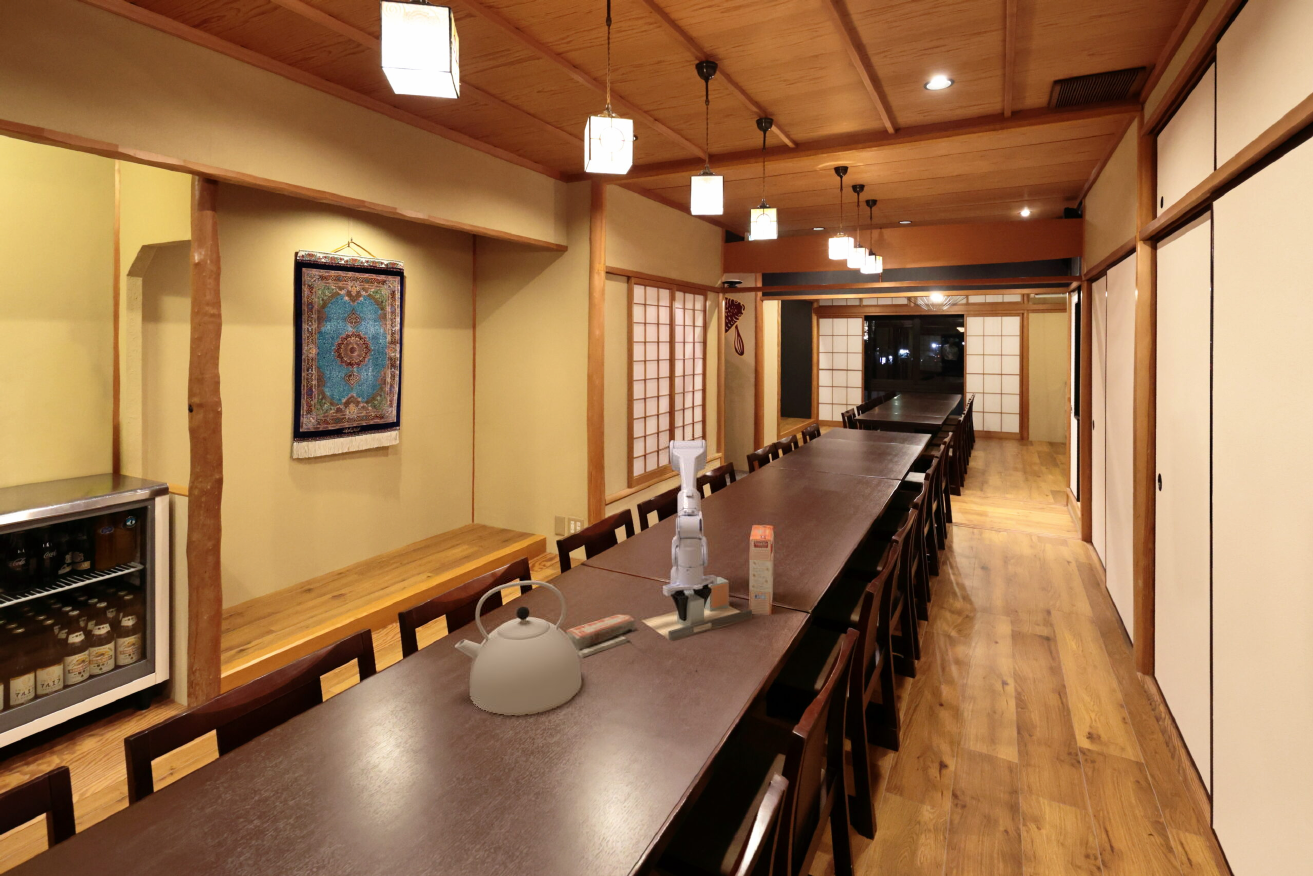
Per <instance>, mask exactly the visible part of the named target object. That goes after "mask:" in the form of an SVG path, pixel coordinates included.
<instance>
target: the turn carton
mask: <svg viewBox="0 0 1313 876" xmlns="http://www.w3.org/2000/svg"><path fill="white" fill-rule="evenodd" d="M685 595H687V596H688V597H689V598H688V602H687V617H686V621H682V620H681V619H679V615H678V611H677V610H676V611H677V622H678V623H679V624H681V625H682V626H684V627H685V626H689V625H693V624H696V623H700V622H704V599H703V598H701V597H699V596H697V595H695V594H693V593H691V592H688V593H685Z"/></svg>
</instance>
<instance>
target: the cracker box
mask: <svg viewBox="0 0 1313 876" xmlns="http://www.w3.org/2000/svg"><path fill="white" fill-rule="evenodd" d="M774 538H775V535H774V526H773V525H769V524H764V525H763V524H762V525H760V524H754V525H752V528H751V533H750V538H749V576H748V577H749V578H748V579H749V583H748V585H749V587H748V588H749V591H748V593H749V595H748V597H749V598H748V599H749V600H748V601H749V602H748V609H751V610H752V615H766V616H767V615H770V616H771V615H772V610H773V599H774V561H775V560H774V555H775V554H774V553H775V552H774V549H775V546H774V545H775V543H774V541H775V540H774Z"/></svg>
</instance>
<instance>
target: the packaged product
mask: <svg viewBox="0 0 1313 876" xmlns="http://www.w3.org/2000/svg"><path fill="white" fill-rule="evenodd" d="M635 627H636V620H635V619H634V618H633V617H632V616H630V615H628V614H615V615H611V616H609V617H605V618H604V617H603V618H602V619H599V620H596V621H592V622H588V623H585V624H582V625H578V626H575V627H572V628H568V629H567V630H566V631H565V634H566V635H567V636H568V637H569V638H570V640H571V641H572V643H573V645H574V647H575V649H576V651H577V654H578V657H579V658H581V659H583V658H586V657H589V656H591V655H594V654H598V653H601V652H604V651H606V650H609V649H612V648H616V647H618V646H621V645H624V644H626V643H630V642H631V641H630V640H629V639H628V638H627V637H626V636H624V635H625V634H628V633H629V634H630V633H632V632H634V631H636V628H635Z"/></svg>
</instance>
